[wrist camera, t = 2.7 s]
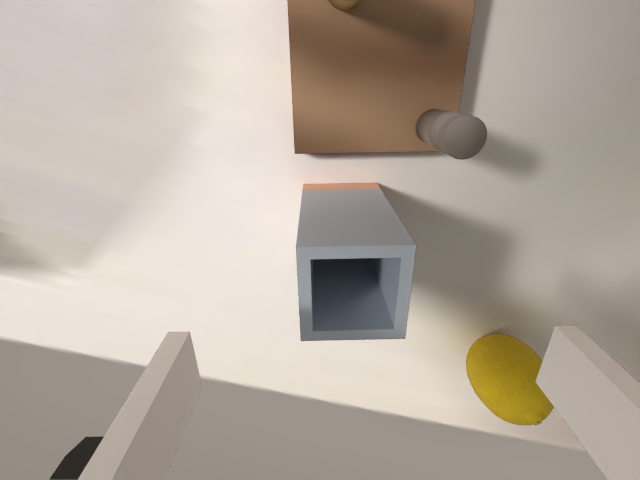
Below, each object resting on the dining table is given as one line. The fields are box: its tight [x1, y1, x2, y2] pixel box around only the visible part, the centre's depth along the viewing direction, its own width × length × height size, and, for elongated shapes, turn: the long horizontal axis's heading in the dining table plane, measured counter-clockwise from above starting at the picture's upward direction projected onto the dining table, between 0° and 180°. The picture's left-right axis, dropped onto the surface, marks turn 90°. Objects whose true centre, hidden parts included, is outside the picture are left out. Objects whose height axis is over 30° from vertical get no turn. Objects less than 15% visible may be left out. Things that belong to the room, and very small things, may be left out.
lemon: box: [466, 334, 554, 425], centre depth 26 cm, size 6×6×8 cm
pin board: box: [288, 0, 487, 159], centre depth 17 cm, size 12×10×6 cm
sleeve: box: [296, 183, 416, 341], centre depth 20 cm, size 5×5×10 cm
